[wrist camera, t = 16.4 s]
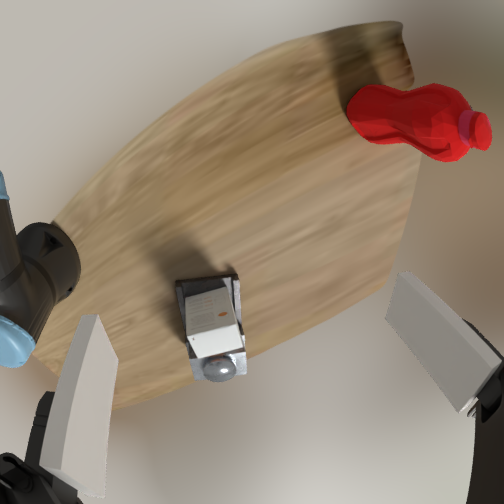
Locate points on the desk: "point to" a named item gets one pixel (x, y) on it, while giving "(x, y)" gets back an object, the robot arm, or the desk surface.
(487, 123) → the water bottle
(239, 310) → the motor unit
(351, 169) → the desk surface
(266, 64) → the desk surface
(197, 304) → the small box
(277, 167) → the desk surface
